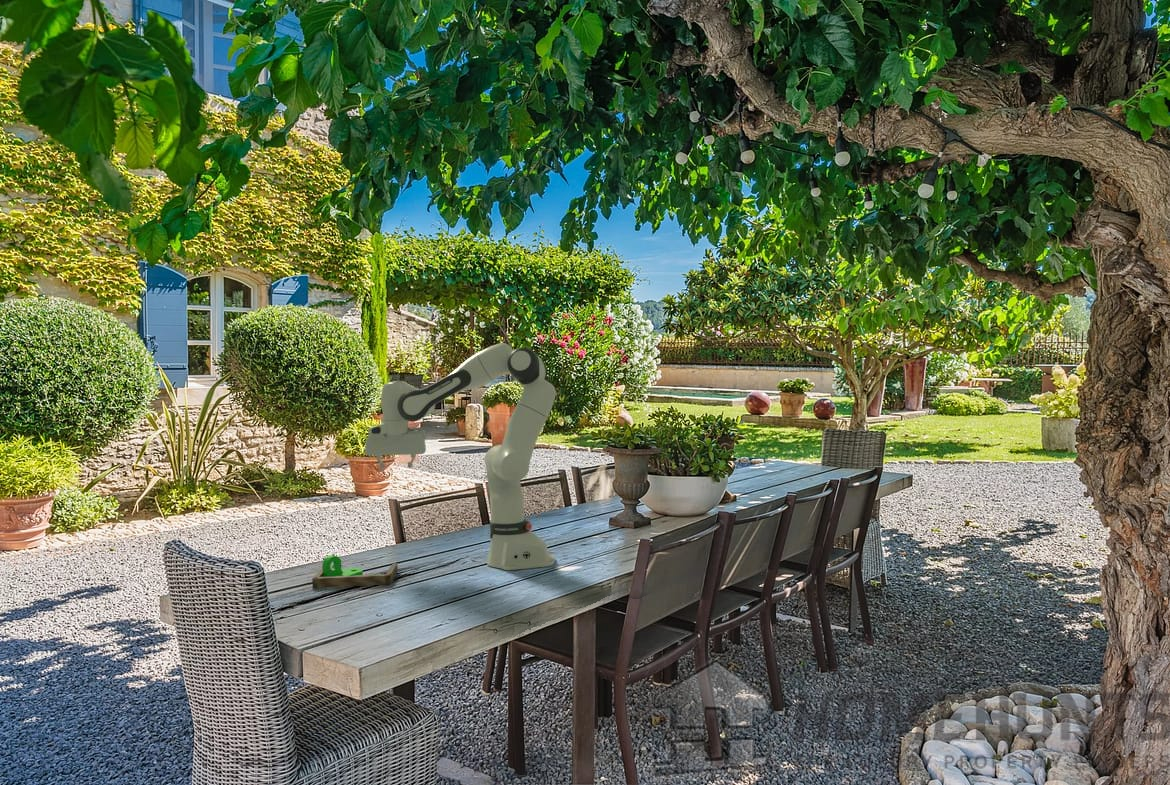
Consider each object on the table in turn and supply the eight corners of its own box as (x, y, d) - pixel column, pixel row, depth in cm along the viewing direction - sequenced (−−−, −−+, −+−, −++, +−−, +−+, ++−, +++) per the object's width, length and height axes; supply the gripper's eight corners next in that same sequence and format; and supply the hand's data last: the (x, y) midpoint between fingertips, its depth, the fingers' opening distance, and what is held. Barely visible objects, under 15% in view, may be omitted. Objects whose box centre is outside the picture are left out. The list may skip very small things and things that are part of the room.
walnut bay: (397, 572, 243) (397, 563, 243) (390, 585, 230) (390, 575, 229) (324, 575, 241) (323, 566, 241) (312, 588, 228) (312, 578, 227)
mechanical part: (335, 585, 231) (334, 559, 230) (323, 583, 234) (322, 557, 234) (366, 576, 241) (365, 551, 240) (354, 573, 244) (353, 548, 244)
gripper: (426, 426, 265) (428, 465, 265) (367, 427, 263) (368, 467, 264) (424, 427, 258) (425, 468, 259) (363, 429, 257) (364, 470, 257)
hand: (396, 467), depth 261 cm, fingers open, 8 cm apart
